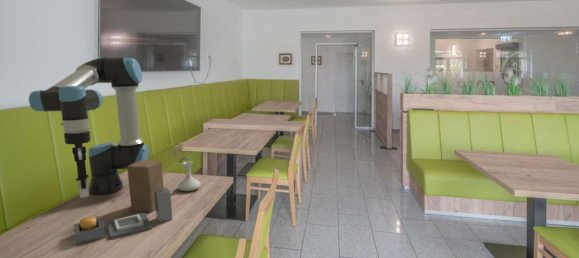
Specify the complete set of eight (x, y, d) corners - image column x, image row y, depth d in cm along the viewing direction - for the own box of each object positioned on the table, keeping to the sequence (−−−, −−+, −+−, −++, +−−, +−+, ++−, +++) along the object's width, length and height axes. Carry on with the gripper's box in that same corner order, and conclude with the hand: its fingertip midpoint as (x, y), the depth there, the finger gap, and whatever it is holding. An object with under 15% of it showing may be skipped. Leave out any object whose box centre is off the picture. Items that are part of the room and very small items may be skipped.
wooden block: (151, 212, 140) (147, 167, 137) (131, 210, 142) (126, 165, 139) (165, 203, 150) (161, 160, 146) (145, 201, 152) (141, 159, 148)
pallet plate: (106, 224, 130) (105, 218, 130) (144, 215, 138) (144, 210, 138) (110, 239, 119) (110, 233, 118) (152, 228, 127) (151, 223, 126)
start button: (80, 226, 121) (79, 218, 121) (96, 222, 124) (95, 215, 123) (81, 231, 117) (80, 223, 117) (97, 228, 120) (96, 220, 119)
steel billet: (156, 218, 135) (154, 190, 133) (169, 215, 138) (167, 187, 136) (159, 222, 131) (157, 194, 129) (172, 219, 134) (170, 191, 132)
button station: (75, 234, 122) (73, 224, 122) (102, 227, 127) (101, 218, 127) (75, 245, 115) (74, 234, 114) (105, 237, 120) (104, 227, 119)
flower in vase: (191, 183, 175) (188, 137, 170) (205, 187, 169) (203, 140, 164) (169, 190, 165) (166, 141, 160) (184, 196, 158) (181, 145, 153)
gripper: (63, 129, 117) (71, 193, 121) (63, 135, 106) (72, 204, 111) (88, 127, 121) (95, 188, 125) (90, 133, 111) (98, 199, 115)
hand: (84, 196), depth 118 cm, fingers closed
